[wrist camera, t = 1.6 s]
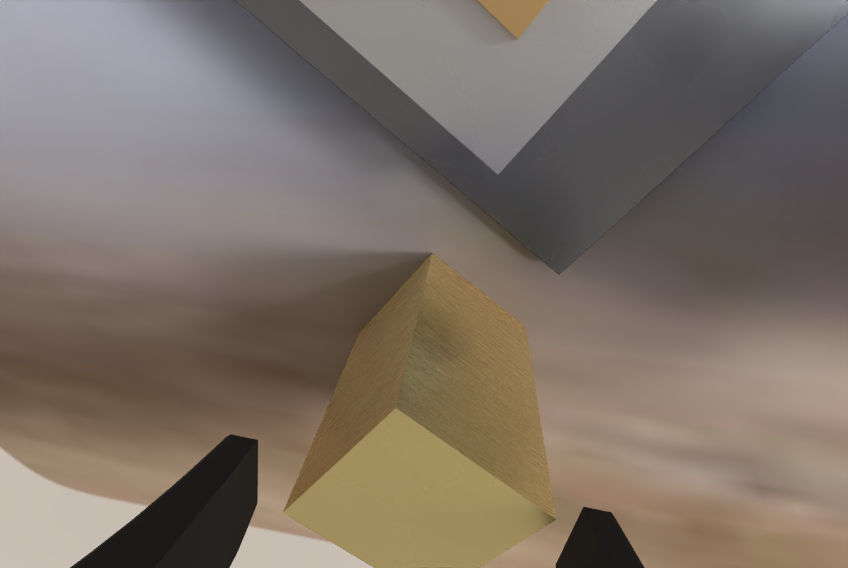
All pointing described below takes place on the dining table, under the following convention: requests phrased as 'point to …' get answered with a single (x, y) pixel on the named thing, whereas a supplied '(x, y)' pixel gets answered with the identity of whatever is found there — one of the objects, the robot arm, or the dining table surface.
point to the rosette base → (596, 116)
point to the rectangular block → (430, 434)
